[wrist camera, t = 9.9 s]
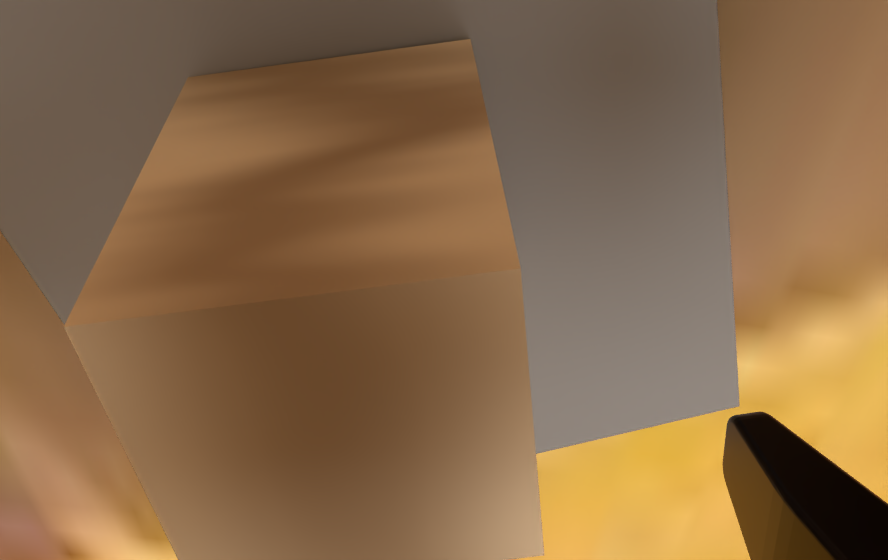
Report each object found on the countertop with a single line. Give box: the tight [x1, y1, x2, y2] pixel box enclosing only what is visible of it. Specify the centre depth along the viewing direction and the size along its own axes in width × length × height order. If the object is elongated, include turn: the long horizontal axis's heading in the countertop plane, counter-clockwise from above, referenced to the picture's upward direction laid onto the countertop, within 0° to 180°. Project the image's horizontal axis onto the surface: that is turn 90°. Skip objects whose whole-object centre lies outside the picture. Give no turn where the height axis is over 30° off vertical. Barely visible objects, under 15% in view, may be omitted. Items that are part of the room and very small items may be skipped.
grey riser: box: [0, 0, 739, 454], centre depth 18 cm, size 14×18×4 cm
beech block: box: [64, 39, 544, 560], centre depth 13 cm, size 5×5×7 cm
